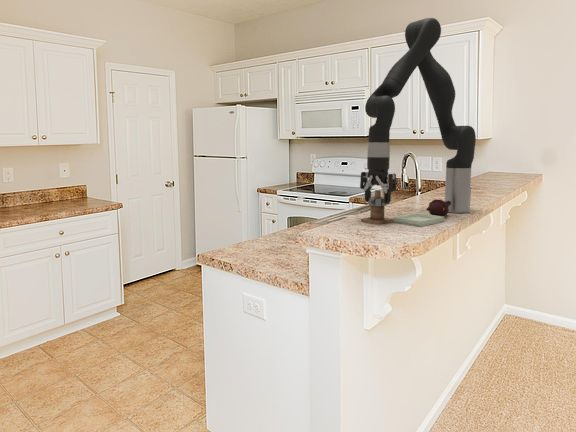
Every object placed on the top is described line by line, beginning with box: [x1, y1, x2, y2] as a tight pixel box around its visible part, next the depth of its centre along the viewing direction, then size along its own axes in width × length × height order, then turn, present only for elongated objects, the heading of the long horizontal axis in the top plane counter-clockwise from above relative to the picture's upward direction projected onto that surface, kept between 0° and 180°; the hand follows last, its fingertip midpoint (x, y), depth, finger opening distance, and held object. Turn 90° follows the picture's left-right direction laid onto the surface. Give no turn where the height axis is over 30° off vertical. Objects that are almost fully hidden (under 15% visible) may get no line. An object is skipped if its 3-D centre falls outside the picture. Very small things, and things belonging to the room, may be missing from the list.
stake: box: [360, 189, 394, 226], centre depth 162 cm, size 8×8×11 cm
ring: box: [368, 196, 388, 207], centre depth 162 cm, size 8×6×2 cm
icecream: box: [425, 199, 451, 217], centre depth 170 cm, size 7×7×15 cm
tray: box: [392, 212, 445, 228], centre depth 161 cm, size 14×12×2 cm
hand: (377, 202), depth 162 cm, fingers open, 8 cm apart
